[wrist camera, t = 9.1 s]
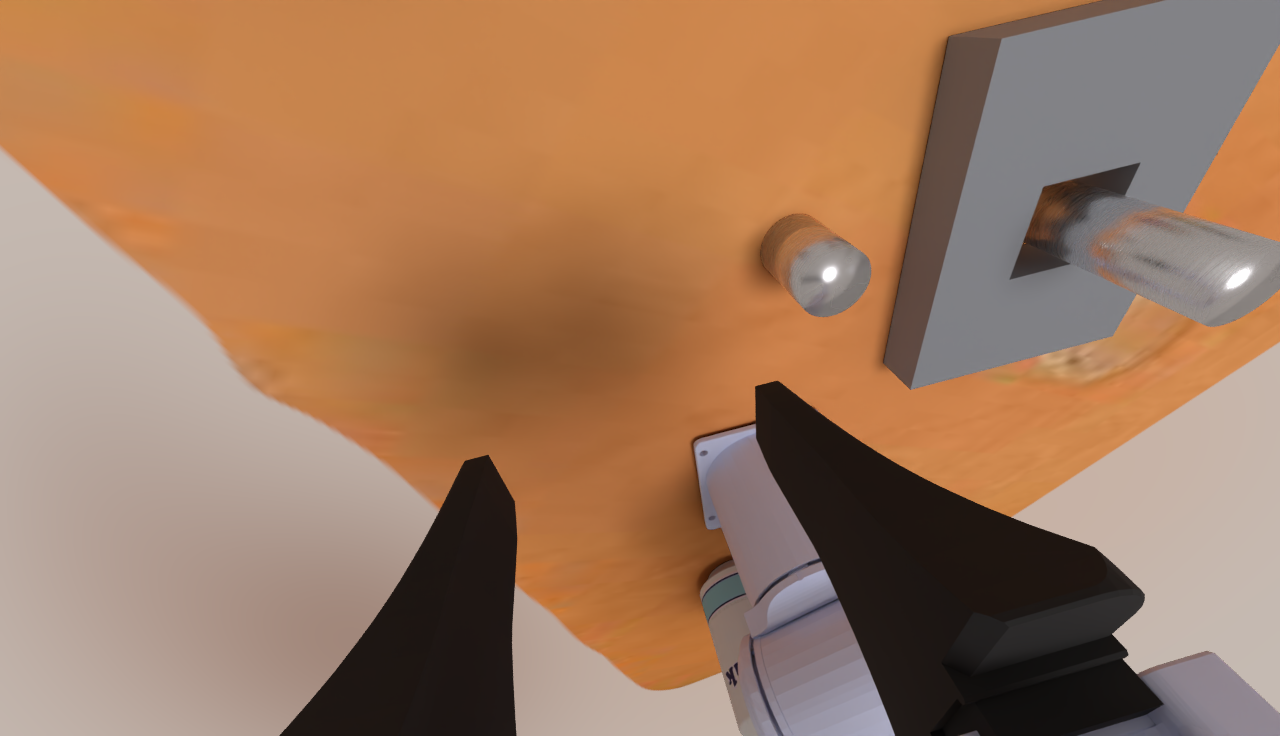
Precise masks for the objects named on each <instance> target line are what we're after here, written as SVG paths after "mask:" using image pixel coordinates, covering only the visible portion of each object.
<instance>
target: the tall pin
mask: <svg viewBox="0 0 1280 736" xmlns="http://www.w3.org/2000/svg"><path fill="white" fill-rule="evenodd" d="M1023 242H1024V243H1027V244H1029V245H1031V246H1033V247H1035V248H1037V249H1040V250H1042V251H1044V252H1046V253H1048V254H1051V255H1053V256H1055V257H1057V258H1059V259H1062V260H1064V261H1066V262H1068V263H1070V264H1072V265H1075V266H1077V267H1079V268H1081V269H1083V270H1086V271H1088V272H1090V273H1092V274H1094V275H1096V276H1099V277H1101V278H1103V279H1105V280H1107V281H1110V282H1112V283H1114V284H1116V285H1118V286H1120V287H1123V288H1125V289H1127V290H1129V291H1131V292H1134V293H1136V294H1138V295H1140V296H1142V297H1144V298H1147V299H1149V300H1151V301H1153V302H1155V303H1158V304H1160V305H1162V306H1164V307H1166V308H1168V309H1171V310H1173V311H1175V312H1177V313H1179V314H1182V315H1184V316H1186V317H1188V318H1190V319H1193V320H1195V321H1197V322H1199V323H1201V324H1203V325H1206V326H1210V327H1215V326H1220V325H1224V324H1227V323H1230V322H1232V321H1235V320H1237V319H1239V318H1241V317H1243V316H1244V315H1246V314H1248V313H1249V312H1251V311H1253V310H1254V309H1256V308H1257V307H1259V306H1260V305H1261V304H1263V303H1264V302H1265V301H1267V300H1268V299H1269V298H1270V297H1271V296H1273V295H1274V294H1275V293H1276V292H1277V291H1278V290H1279V289H1280V242H1278V241H1274V240H1271V239H1268V238H1264V237H1261V236H1258V235H1254V234H1251V233H1248V232H1244V231H1241V230H1238V229H1234V228H1231V227H1228V226H1224V225H1221V224H1218V223H1215V222H1211V221H1208V220H1205V219H1201V218H1198V217H1195V216H1191V215H1188V214H1185V213H1181V212H1178V211H1175V210H1171V209H1168V208H1165V207H1161V206H1158V205H1155V204H1152V203H1148V202H1145V201H1142V200H1138V199H1135V198H1132V197H1128V196H1125V195H1122V194H1118V193H1115V192H1112V191H1108V190H1105V189H1102V188H1098V187H1095V186H1092V185H1089V184H1085V183H1082V182H1079V181H1075V180H1068V181H1064V182H1060V183H1056V184H1052V185H1048V186H1044V187H1043V189H1042V192H1041V195H1040V197H1039V200H1038V203H1037V206H1036V208H1035V211H1034V214H1033V217H1032V219H1031V222H1030V225H1029V227H1028V230H1027V233H1026V236H1025V238H1024V241H1023Z"/></svg>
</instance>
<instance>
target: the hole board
mask: <svg viewBox="0 0 1280 736" xmlns="http://www.w3.org/2000/svg"><path fill="white" fill-rule="evenodd" d="M1279 44H1280V0H1102V1H1098V2H1094V3H1089V4H1085V5H1081V6H1076V7H1072V8H1068V9H1064V10H1059V11H1055V12H1051V13H1046V14H1042V15H1038V16H1034V17H1029V18H1025V19H1021V20H1016V21H1012V22H1008V23H1004V24H999V25H995V26H991V27H986V28H982V29H978V30H974V31H969V32H965V33H961V34H956V35H952V36H949V39H948V44H947V49H946V54H945V59H944V64H943V69H942V74H941V79H940V84H939V89H938V94H937V99H936V104H935V109H934V114H933V119H932V124H931V129H930V134H929V139H928V144H927V149H926V154H925V159H924V163H923V168H922V173H921V178H920V183H919V188H918V193H917V198H916V203H915V208H914V213H913V218H912V223H911V228H910V233H909V238H908V243H907V248H906V253H905V258H904V263H903V268H902V273H901V278H900V283H899V288H898V293H897V298H896V303H895V308H894V313H893V318H892V323H891V328H890V333H889V338H888V342H887V347H886V352H885V357H884V362H883V363H884V364H885V365H886V366H887V367H888V368H889V369H890V370H891V371H892V372H893V373H894V374H895V375H896V376H897V377H898V378H899V379H900V380H901V381H902V382H903V383H904V384H905V385H906V386H907V387H908V388H909V389H910V390H911V389H915V388H919V387H923V386H927V385H930V384H934V383H938V382H942V381H945V380H949V379H953V378H957V377H960V376H964V375H968V374H972V373H975V372H979V371H983V370H987V369H991V368H994V367H998V366H1002V365H1006V364H1009V363H1013V362H1017V361H1021V360H1024V359H1028V358H1032V357H1036V356H1039V355H1043V354H1047V353H1051V352H1055V351H1058V350H1062V349H1066V348H1070V347H1073V346H1077V345H1081V344H1085V343H1088V342H1092V341H1096V340H1100V339H1103V338H1107V337H1111V336H1113V334H1114V333H1115V331H1116V329H1117V327H1118V326H1119V324H1120V322H1121V321H1122V319H1123V317H1124V315H1125V314H1126V312H1127V310H1128V308H1129V307H1130V305H1131V303H1132V301H1133V300H1134V298H1135V296H1136V293H1134V292H1131V291H1129V290H1127V289H1125V288H1123V287H1120V286H1118V285H1116V284H1114V283H1112V282H1110V281H1107V280H1105V279H1103V278H1101V277H1099V276H1096V275H1094V274H1092V273H1090V272H1088V271H1086V270H1083V269H1081V268H1079V267H1077V266H1075V265H1072V264H1070V263H1068V262H1066V261H1064V260H1062V259H1059V258H1057V257H1055V256H1053V255H1051V254H1048V253H1046V252H1044V251H1042V250H1040V249H1037V248H1035V247H1033V246H1031V245H1029V244H1025V245H1022V244H1023V241H1024V238H1025V236H1026V233H1027V230H1028V227H1029V225H1030V222H1031V219H1032V217H1033V214H1034V211H1035V208H1036V206H1037V203H1038V200H1039V197H1040V195H1041V192H1042V189H1043V187H1044V186H1048V185H1052V184H1056V183H1060V182H1064V181H1068V180H1072V179H1073V180H1075V181H1079V182H1082V183H1085V184H1089V185H1092V186H1095V187H1098V188H1102V189H1105V190H1108V191H1112V192H1115V193H1118V194H1122V195H1125V196H1128V197H1132V198H1135V199H1138V200H1142V201H1145V202H1148V203H1152V204H1155V205H1158V206H1161V207H1165V208H1168V209H1171V210H1175V211H1178V212H1181V213H1183V212H1184V210H1185V209H1186V207H1187V205H1188V203H1189V202H1190V200H1191V198H1192V196H1193V195H1194V193H1195V191H1196V189H1197V188H1198V186H1199V184H1200V182H1201V181H1202V179H1203V177H1204V175H1205V174H1206V172H1207V170H1208V168H1209V167H1210V165H1211V163H1212V161H1213V160H1214V158H1215V156H1216V154H1217V153H1218V151H1219V149H1220V147H1221V146H1222V144H1223V142H1224V140H1225V139H1226V137H1227V135H1228V133H1229V132H1230V130H1231V128H1232V126H1233V125H1234V123H1235V121H1236V119H1237V118H1238V116H1239V114H1240V112H1241V111H1242V109H1243V107H1244V105H1245V104H1246V102H1247V100H1248V98H1249V97H1250V95H1251V93H1252V91H1253V90H1254V88H1255V86H1256V84H1257V83H1258V81H1259V79H1260V77H1261V76H1262V74H1263V72H1264V70H1265V69H1266V67H1267V65H1268V63H1269V62H1270V60H1271V58H1272V56H1273V55H1274V53H1275V51H1276V49H1277V48H1278V46H1279Z"/></svg>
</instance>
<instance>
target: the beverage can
mask: <svg viewBox="0 0 1280 736" xmlns="http://www.w3.org/2000/svg"><path fill="white" fill-rule="evenodd" d="M700 598H701V602H702V605H703V608H704V612H705V615H706V619H707V622H708V625H709V629H710V632H711V636H712V639H713V643H714V646H715V649H716V653H717V656H718V660H719V663H720V666H721V670H722V673H723V677H724V680H725V683H726V687H727V690H728V693H729V697H730V700H731V704H732V707H733V711H734V714H735V717H736V721H737V724H738V728H739V731H740V733H741V734H742V735H743V736H758V734H757V732H756V730H755V727H754V725H753V723H752V720H751V718H750V715H749V712H748V710H747V707H746V704H745V701H744V697H743V694H742V690H741V686H740V681H739V675H738V657H739V651H740V644H741V640H742V639H743V637H744V636H746V635H748V634H750V631H749V628H748V625H747V623H746V620H745V617H744V613H745V612H747V611H748V610H750V609H752V606H751V604H750V602H749V600H748V598H747V595H746V593H745V590H744V587H743V585H742V582H741V579H740V576H739V574H738V571H737V568H736V566H735V563H734V560H730V561H727V562H725V563H723V564H721V565H720V566H718V567H717V568H716V569H714V570H713V571H712V573H711V574H710V576H709V578H708V580H707V581H706V582H705V583H704V585H703V586H702V588H701V591H700Z"/></svg>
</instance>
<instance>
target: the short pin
mask: <svg viewBox="0 0 1280 736" xmlns="http://www.w3.org/2000/svg"><path fill="white" fill-rule="evenodd" d="M760 255H761V261H762V263H763V265H764V267H765V268H766V269H767V270H768V271H769V272H770V273H771V274H772V275H773V277H774V278H775V279H776V280H777V281H778V282H779V283H780V284H781V285H782V286H783V287H784V288H785V289H786V290H787V291H788V292H789V294H790V295H791V296H792V297H793V298H794V299H795V300H796V301H797V302H798V303H799V304H800V305H801V306H802V307H803V308H804V309H805V311H807V312H808V313H809V314H811V315H814V316H818V317H828V316H833V315H836V314H838V313H841V312H843V311H845V310H846V309H848V308H849V307H851V306H852V305H853V304H854V303H855V302H856V301H857V300H858V299H859V298H860V297H861V296H862V294H863V293H864V291H865V290H866V288H867V286H868V284H869V281H870V277H871V265H870V261H869V259H868V258H867V256H866V255H865V254H864V253H862V252H861V251H860V250H858V249H857V248H855V247H854V246H853V245H851V244H850V243H848V242H847V241H845V240H844V239H843V238H841V237H840V236H838V235H837V234H836V233H834V232H833V231H831V230H830V229H828V228H827V227H826V226H824V225H823V224H821V223H820V222H819V221H817V220H816V219H814V218H813V217H811V216H809V215H806V214H792V215H789V216H786V217H784V218H782V219H781V220H779V221H778V222H776V223H775V224H774V225H773V226H772V227H771V228H770V229H769V231H768V232H767V234H766V235H765V237H764V239H763V242H762V245H761V251H760Z"/></svg>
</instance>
